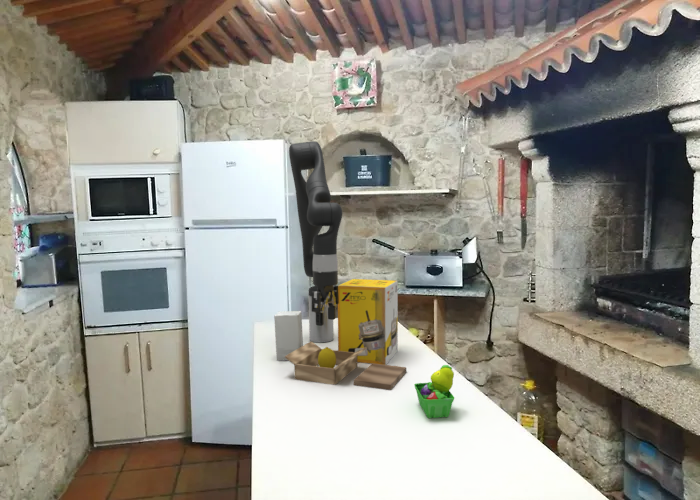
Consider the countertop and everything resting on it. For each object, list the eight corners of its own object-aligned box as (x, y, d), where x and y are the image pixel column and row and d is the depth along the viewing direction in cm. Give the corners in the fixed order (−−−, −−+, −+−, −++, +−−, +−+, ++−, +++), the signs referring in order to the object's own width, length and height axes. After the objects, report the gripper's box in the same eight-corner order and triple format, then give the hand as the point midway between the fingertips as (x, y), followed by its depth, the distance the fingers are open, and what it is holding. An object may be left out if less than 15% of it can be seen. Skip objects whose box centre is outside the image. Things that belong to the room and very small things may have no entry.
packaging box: (386, 365, 158) (385, 287, 156) (338, 360, 164) (337, 285, 162) (397, 351, 174) (397, 280, 172) (353, 347, 179) (353, 278, 177)
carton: (310, 361, 163) (310, 341, 163) (367, 367, 156) (366, 346, 155) (284, 377, 147) (284, 355, 147) (346, 386, 140) (345, 363, 139)
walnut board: (372, 368, 156) (372, 363, 155) (406, 372, 151) (406, 367, 151) (353, 385, 141) (353, 379, 141) (390, 390, 137) (390, 384, 137)
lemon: (338, 370, 153) (338, 345, 153) (332, 376, 148) (331, 350, 147) (322, 369, 155) (321, 344, 154) (315, 374, 150) (314, 348, 149)
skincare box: (303, 355, 170) (303, 310, 168) (299, 361, 163) (299, 314, 162) (279, 355, 170) (278, 310, 169) (275, 361, 164) (273, 314, 162)
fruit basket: (413, 402, 128) (413, 359, 127) (446, 400, 129) (447, 358, 128) (423, 421, 117) (423, 374, 116) (460, 419, 118) (460, 372, 117)
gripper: (324, 266, 157) (324, 316, 158) (303, 271, 144) (303, 326, 145) (345, 267, 154) (346, 318, 155) (326, 272, 141) (327, 328, 142)
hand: (325, 322), depth 150 cm, fingers open, 8 cm apart
